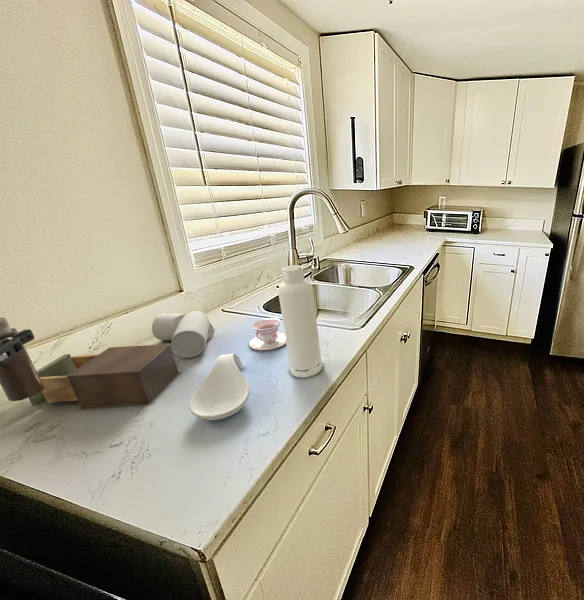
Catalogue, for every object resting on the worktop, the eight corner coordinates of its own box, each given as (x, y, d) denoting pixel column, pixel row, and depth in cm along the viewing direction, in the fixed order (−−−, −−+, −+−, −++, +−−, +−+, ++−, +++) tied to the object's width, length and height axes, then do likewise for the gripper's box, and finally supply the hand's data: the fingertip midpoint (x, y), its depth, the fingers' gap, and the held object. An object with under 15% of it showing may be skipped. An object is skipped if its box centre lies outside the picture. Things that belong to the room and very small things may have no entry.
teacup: (266, 331, 109) (262, 314, 106) (297, 335, 106) (295, 318, 103) (240, 348, 98) (236, 330, 96) (274, 353, 95) (271, 334, 93)
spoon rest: (251, 420, 69) (245, 392, 66) (187, 436, 65) (178, 406, 63) (255, 364, 90) (251, 341, 87) (207, 373, 86) (201, 349, 83)
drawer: (12, 408, 72) (-2, 382, 70) (57, 378, 83) (46, 355, 81) (97, 402, 74) (86, 376, 72) (131, 373, 85) (122, 350, 82)
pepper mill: (0, 402, 61) (-40, 327, 56) (25, 386, 66) (-10, 316, 60) (28, 400, 62) (-10, 326, 56) (51, 385, 66) (18, 315, 61)
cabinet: (81, 408, 73) (66, 376, 70) (120, 376, 85) (109, 347, 82) (149, 403, 75) (138, 371, 72) (178, 372, 86) (170, 343, 83)
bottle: (285, 369, 87) (268, 268, 77) (311, 357, 93) (299, 261, 82) (300, 381, 82) (284, 274, 72) (327, 368, 87) (316, 267, 77)
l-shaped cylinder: (235, 328, 108) (179, 326, 110) (224, 301, 102) (166, 300, 104) (204, 366, 94) (140, 363, 96) (189, 338, 88) (122, 336, 90)
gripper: (-63, 362, 46) (48, 314, 61) (-180, 368, 44) (-36, 318, 60) (-37, 405, 48) (63, 349, 64) (-147, 413, 47) (-17, 354, 63)
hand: (14, 334), depth 62 cm, fingers closed on pepper mill, 5 cm apart
